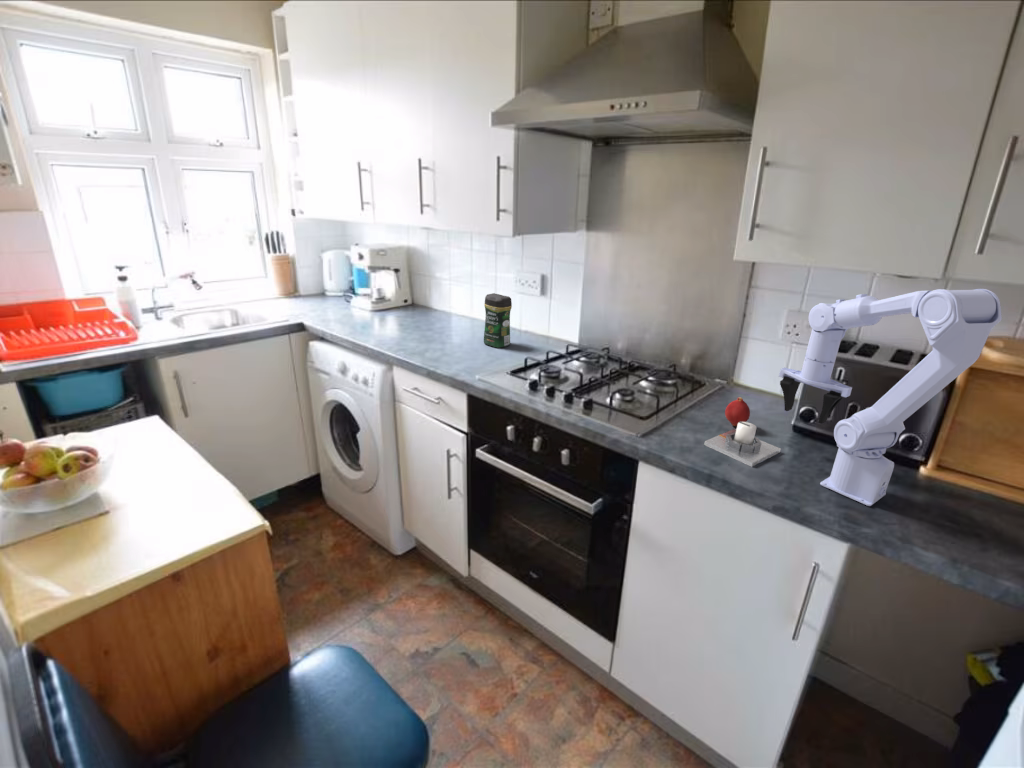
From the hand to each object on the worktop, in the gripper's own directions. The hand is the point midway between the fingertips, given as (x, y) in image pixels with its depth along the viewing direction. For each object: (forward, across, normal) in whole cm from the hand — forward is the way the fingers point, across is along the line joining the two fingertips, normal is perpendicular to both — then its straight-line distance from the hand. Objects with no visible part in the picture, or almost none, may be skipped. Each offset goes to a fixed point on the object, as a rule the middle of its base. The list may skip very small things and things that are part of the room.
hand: (804, 415), depth 117 cm
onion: (+10, +16, -1) cm, 19 cm away
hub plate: (+9, +8, +9) cm, 15 cm away
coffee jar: (+10, +104, +12) cm, 105 cm away
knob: (+8, +8, +9) cm, 15 cm away
